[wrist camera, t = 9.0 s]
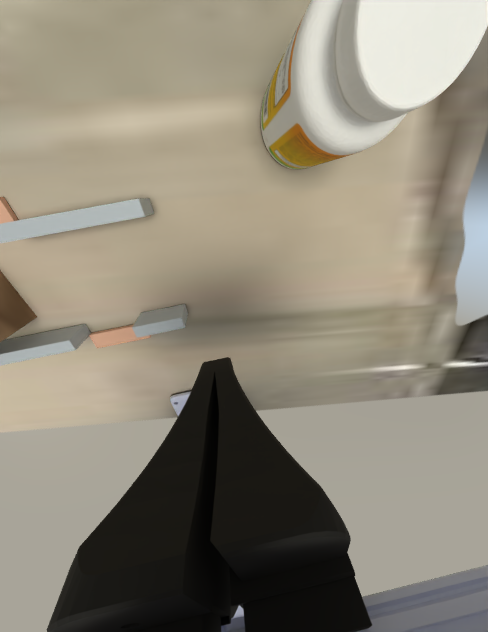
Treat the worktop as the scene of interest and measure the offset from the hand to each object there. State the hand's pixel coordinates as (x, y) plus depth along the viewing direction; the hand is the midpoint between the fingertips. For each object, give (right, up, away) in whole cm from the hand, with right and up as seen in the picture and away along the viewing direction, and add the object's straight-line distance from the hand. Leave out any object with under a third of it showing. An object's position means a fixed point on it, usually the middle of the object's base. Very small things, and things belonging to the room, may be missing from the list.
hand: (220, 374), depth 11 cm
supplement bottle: (+5, +16, +3) cm, 17 cm away
